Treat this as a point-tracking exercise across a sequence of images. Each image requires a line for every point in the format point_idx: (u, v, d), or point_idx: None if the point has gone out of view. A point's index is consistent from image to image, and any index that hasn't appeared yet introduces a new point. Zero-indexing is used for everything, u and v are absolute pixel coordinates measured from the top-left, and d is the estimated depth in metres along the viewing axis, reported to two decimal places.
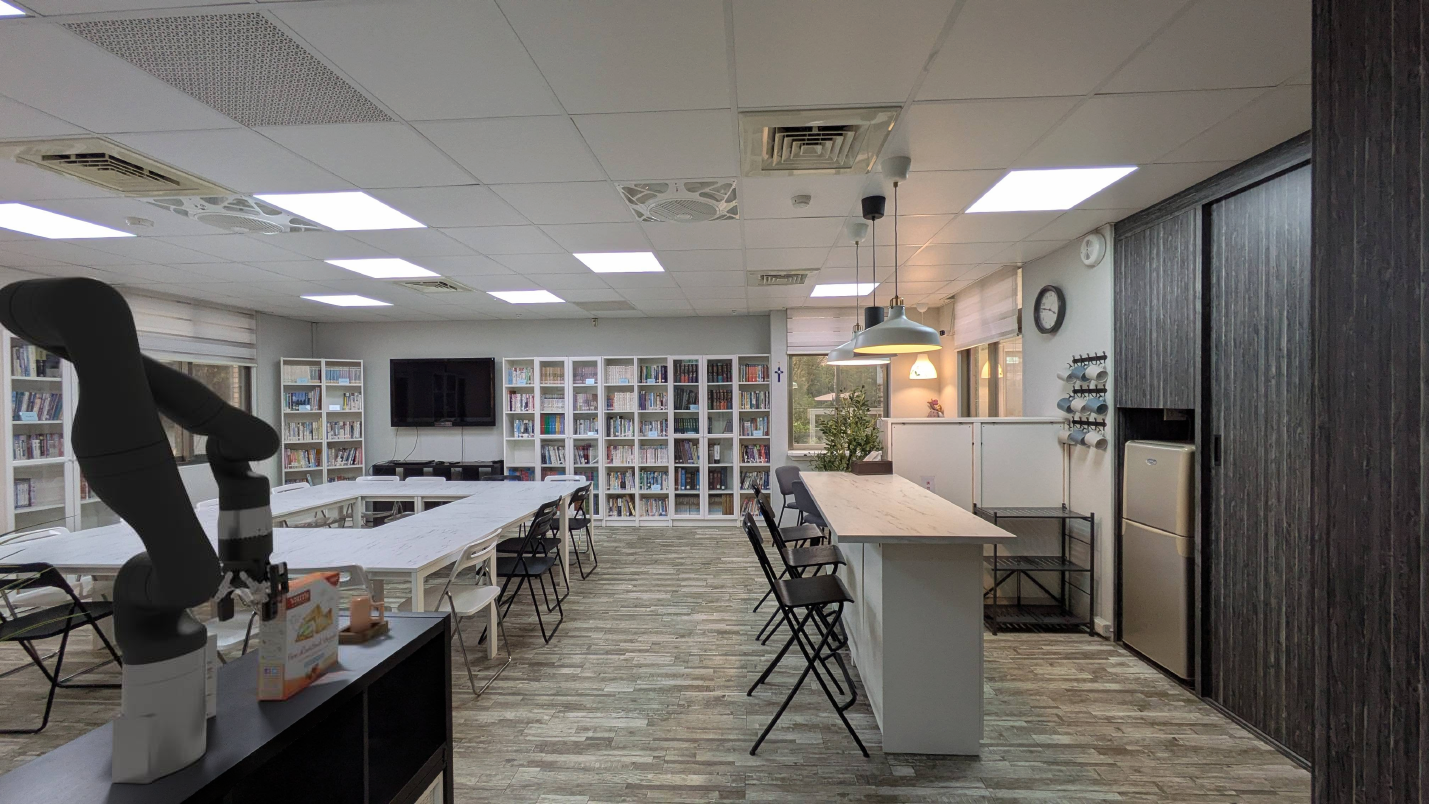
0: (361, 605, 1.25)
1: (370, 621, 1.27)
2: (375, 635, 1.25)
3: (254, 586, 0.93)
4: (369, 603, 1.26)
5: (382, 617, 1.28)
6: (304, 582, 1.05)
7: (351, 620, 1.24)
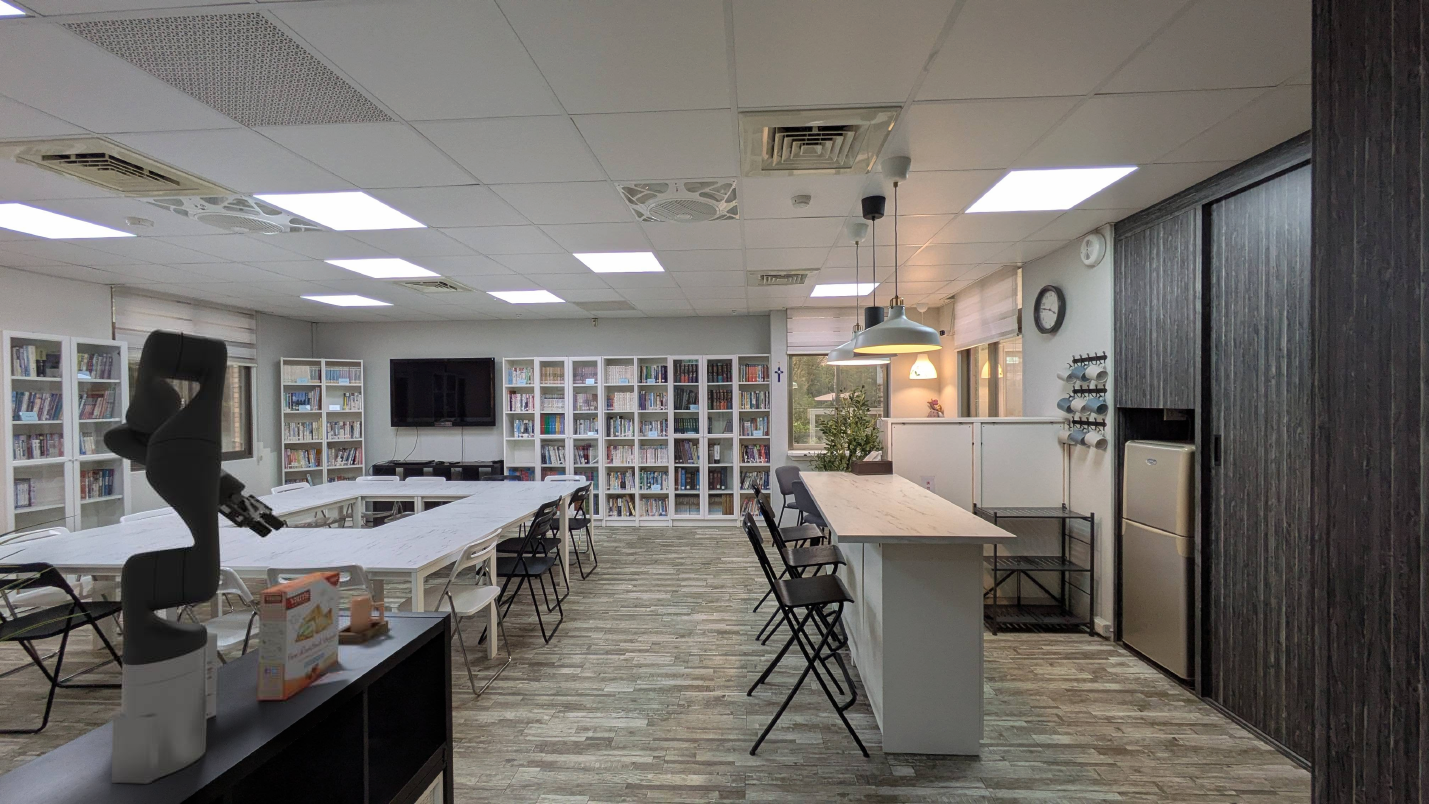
0: (362, 605, 1.25)
1: (370, 621, 1.27)
2: (375, 635, 1.25)
3: (261, 504, 1.22)
4: (369, 603, 1.26)
5: (382, 617, 1.28)
6: (304, 582, 1.05)
7: (351, 620, 1.24)
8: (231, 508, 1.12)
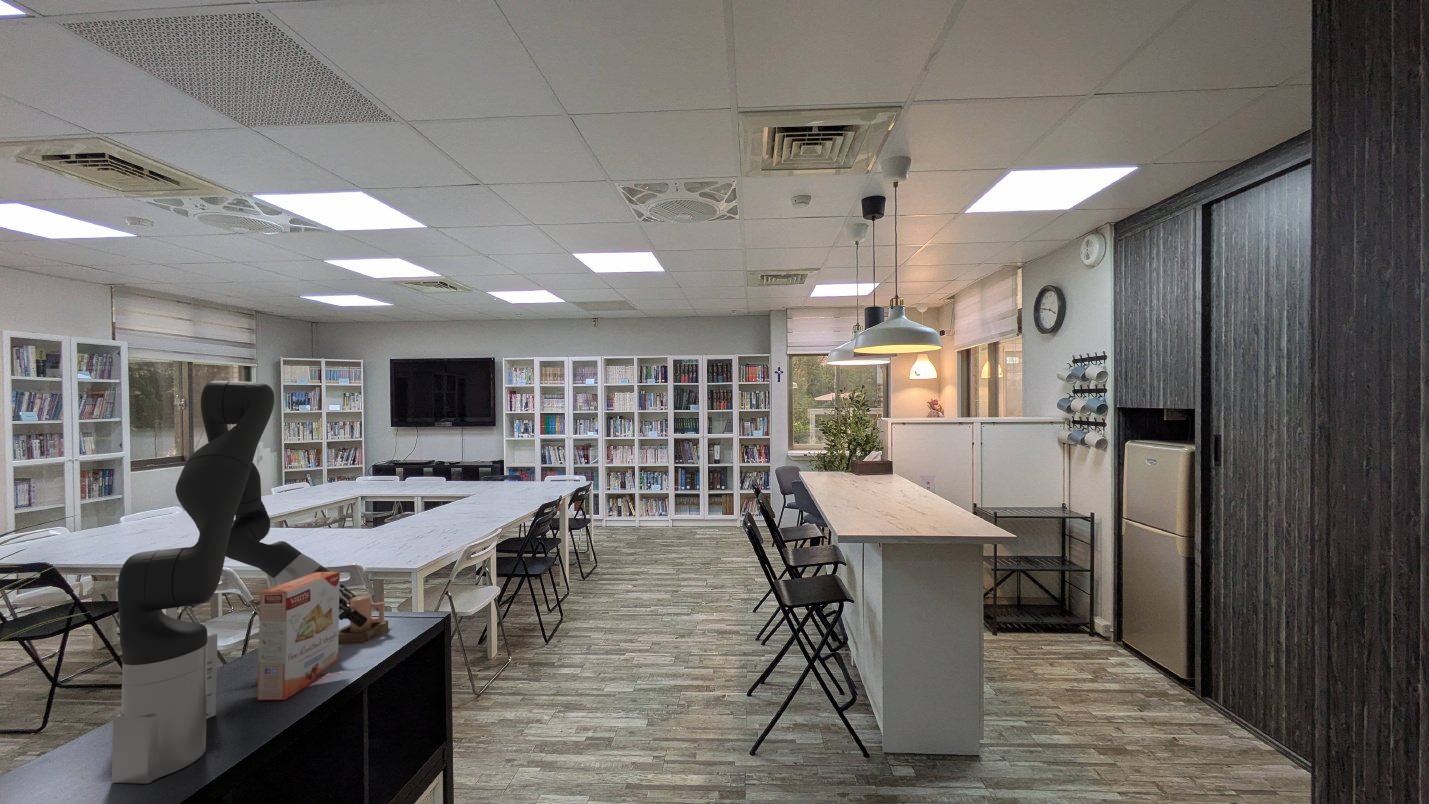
0: (361, 605, 1.25)
1: (370, 621, 1.26)
2: (375, 635, 1.25)
3: (349, 594, 1.28)
4: (369, 603, 1.26)
5: (382, 617, 1.28)
6: (304, 582, 1.05)
7: None
8: None
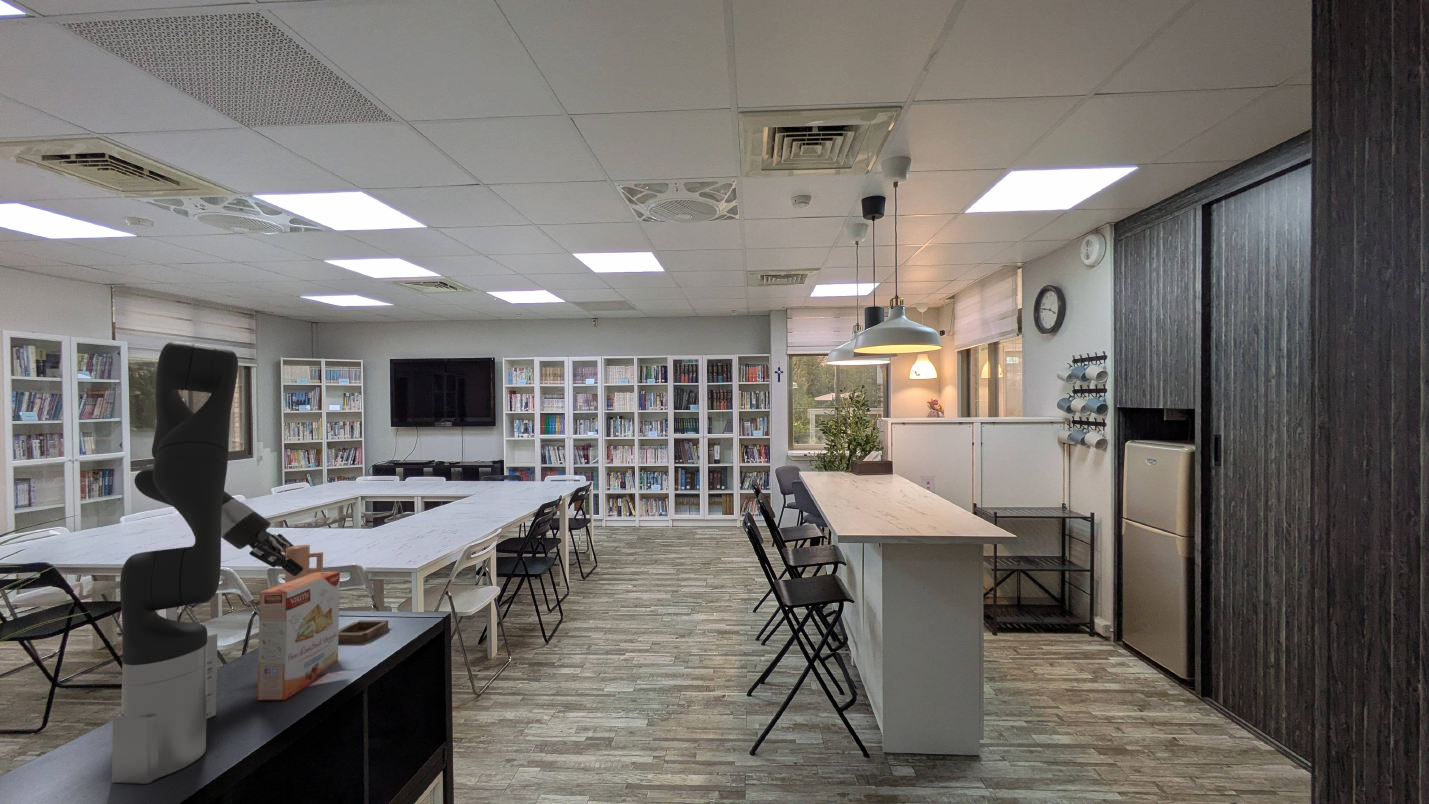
0: (297, 554, 1.20)
1: (307, 571, 1.22)
2: (375, 635, 1.25)
3: (286, 543, 1.23)
4: (306, 552, 1.22)
5: (320, 568, 1.23)
6: (304, 582, 1.05)
7: None
8: (264, 551, 1.14)
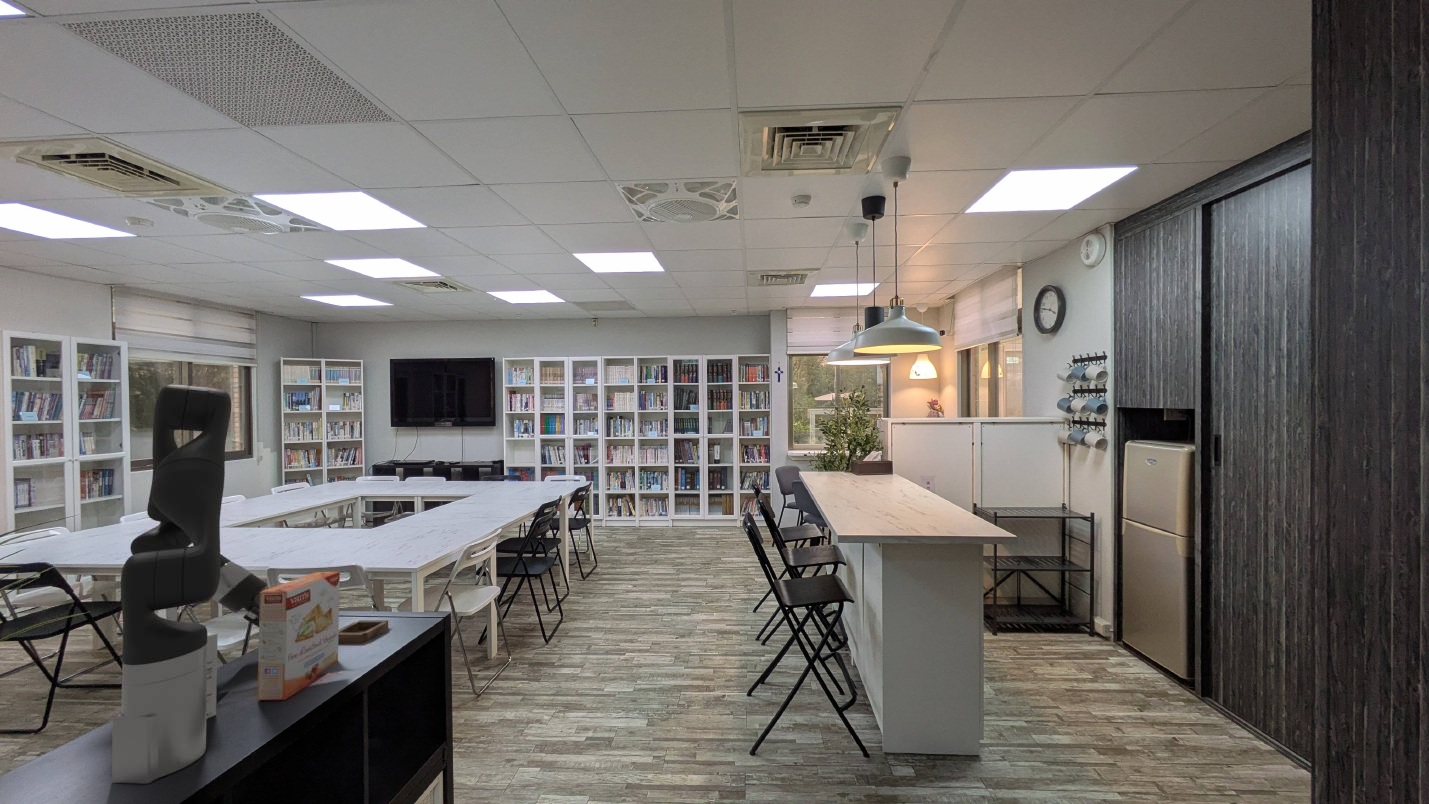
0: None
1: None
2: (375, 635, 1.25)
3: None
4: None
5: None
6: (304, 582, 1.05)
7: None
8: (258, 614, 1.13)
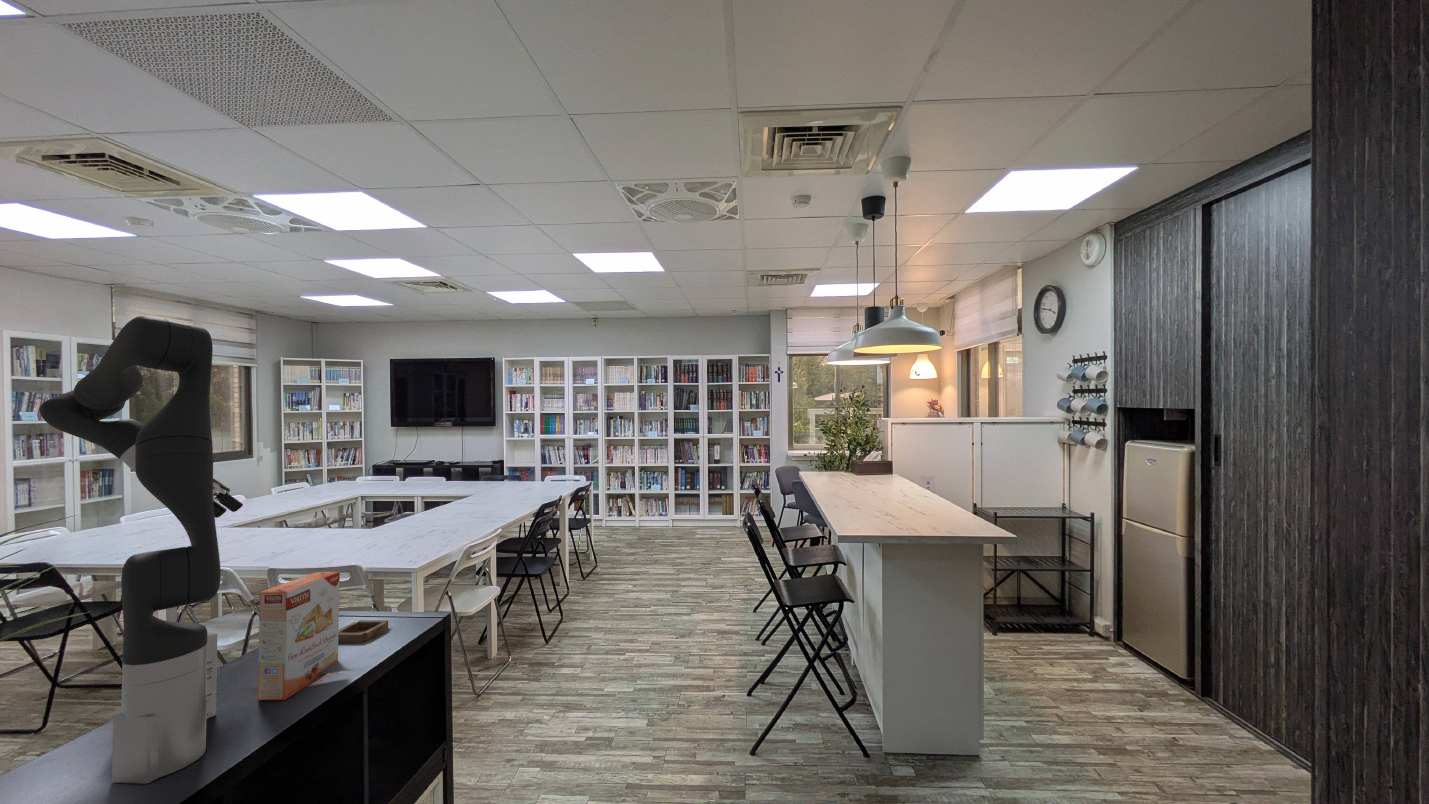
0: None
1: None
2: (375, 635, 1.25)
3: (216, 483, 1.14)
4: None
5: None
6: (304, 582, 1.05)
7: None
8: None
